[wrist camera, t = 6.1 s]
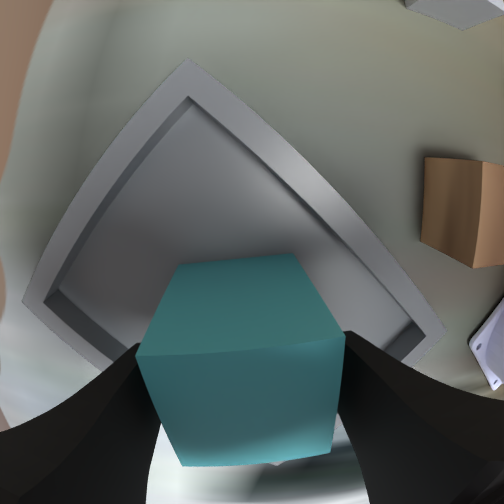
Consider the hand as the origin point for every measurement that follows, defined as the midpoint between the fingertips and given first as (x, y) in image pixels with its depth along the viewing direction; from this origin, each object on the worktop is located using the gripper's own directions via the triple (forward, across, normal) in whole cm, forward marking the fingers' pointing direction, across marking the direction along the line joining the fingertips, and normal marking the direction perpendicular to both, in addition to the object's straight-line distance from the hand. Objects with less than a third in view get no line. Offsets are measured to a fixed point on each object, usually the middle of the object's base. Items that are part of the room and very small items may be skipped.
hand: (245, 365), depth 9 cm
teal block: (+3, 0, 0) cm, 3 cm away
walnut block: (+4, -11, -5) cm, 12 cm away
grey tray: (+4, 0, 0) cm, 4 cm away
